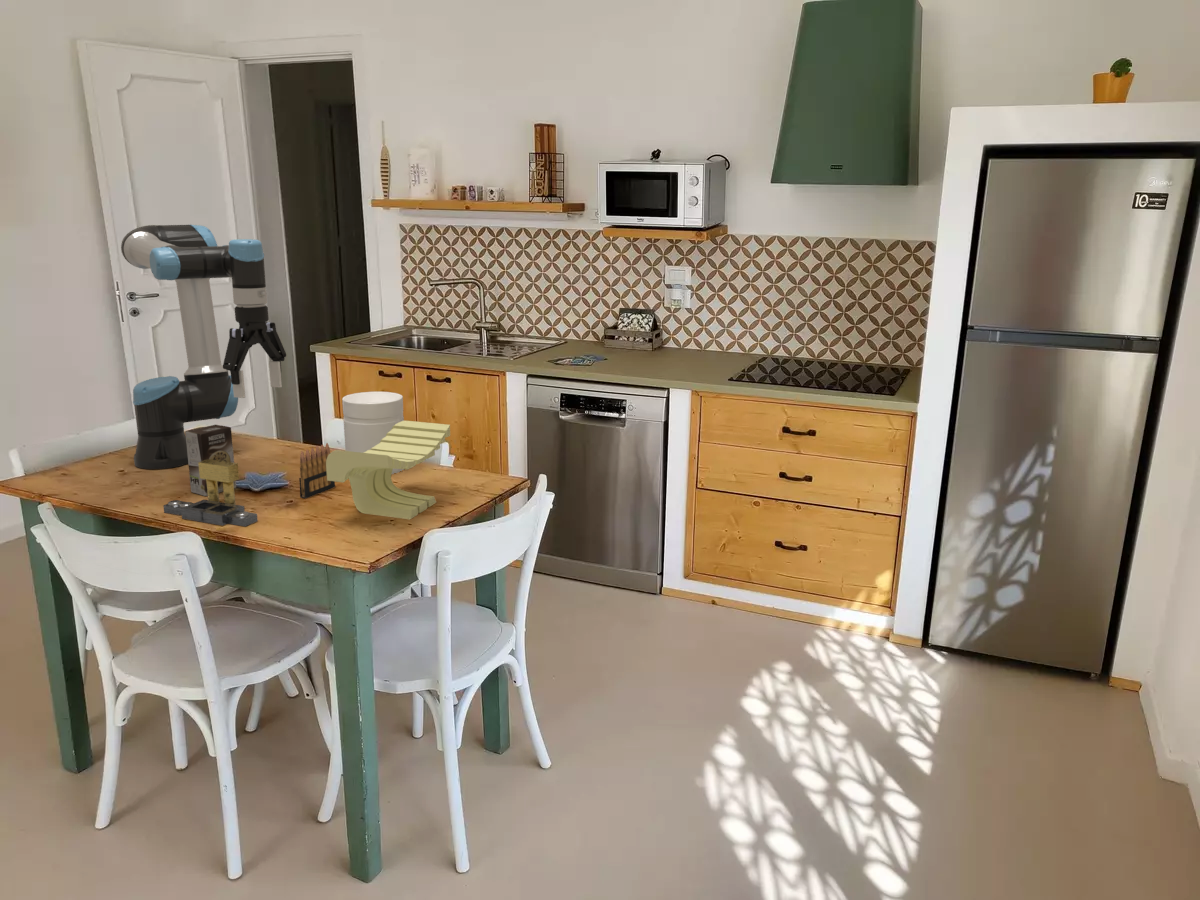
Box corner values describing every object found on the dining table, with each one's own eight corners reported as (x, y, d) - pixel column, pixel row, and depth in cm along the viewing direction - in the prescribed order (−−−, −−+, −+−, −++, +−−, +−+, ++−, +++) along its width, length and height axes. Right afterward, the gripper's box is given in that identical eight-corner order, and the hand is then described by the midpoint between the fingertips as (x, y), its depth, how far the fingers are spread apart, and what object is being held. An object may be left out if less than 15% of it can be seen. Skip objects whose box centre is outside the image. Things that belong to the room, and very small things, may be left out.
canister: (398, 477, 243) (394, 404, 237) (339, 475, 243) (334, 403, 238) (411, 460, 258) (408, 392, 253) (355, 459, 258) (351, 391, 253)
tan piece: (202, 503, 219) (198, 462, 216) (212, 500, 222) (208, 459, 219) (232, 508, 216) (227, 466, 213) (241, 504, 219) (237, 463, 216)
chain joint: (159, 514, 212) (157, 504, 211) (182, 505, 218) (181, 495, 217) (240, 528, 203) (239, 518, 203) (262, 519, 210) (261, 508, 209)
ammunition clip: (329, 486, 234) (326, 441, 231) (335, 487, 234) (332, 442, 230) (300, 497, 225) (296, 451, 222) (305, 498, 224) (302, 452, 221)
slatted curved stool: (396, 485, 235) (393, 419, 231) (452, 492, 231) (449, 424, 226) (330, 523, 208) (324, 448, 203) (391, 531, 203) (387, 455, 198)
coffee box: (206, 496, 224) (199, 434, 220) (190, 492, 228) (183, 430, 223) (237, 487, 232) (232, 426, 228) (222, 483, 235) (215, 423, 231)
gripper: (227, 311, 204) (236, 403, 210) (296, 301, 227) (302, 383, 233) (200, 309, 207) (210, 400, 212) (271, 299, 229) (278, 381, 235)
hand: (258, 392), depth 222 cm, fingers open, 13 cm apart
